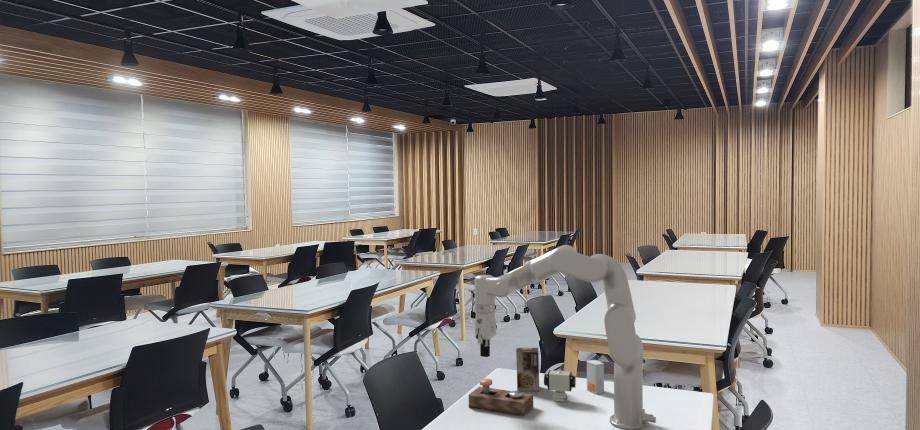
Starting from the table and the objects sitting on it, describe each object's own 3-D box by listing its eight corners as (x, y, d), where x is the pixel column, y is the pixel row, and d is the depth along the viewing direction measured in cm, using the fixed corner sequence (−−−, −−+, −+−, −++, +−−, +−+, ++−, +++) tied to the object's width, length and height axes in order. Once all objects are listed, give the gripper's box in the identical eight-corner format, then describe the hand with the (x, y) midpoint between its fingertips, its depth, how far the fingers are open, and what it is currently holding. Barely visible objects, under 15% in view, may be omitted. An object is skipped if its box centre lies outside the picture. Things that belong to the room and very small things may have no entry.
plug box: (533, 407, 225) (533, 394, 225) (524, 416, 216) (523, 403, 216) (479, 399, 235) (479, 386, 235) (468, 407, 226) (468, 394, 226)
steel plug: (524, 405, 224) (524, 391, 224) (519, 410, 220) (519, 395, 220) (512, 403, 226) (512, 390, 226) (507, 408, 222) (507, 394, 222)
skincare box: (586, 390, 243) (586, 360, 242) (595, 388, 245) (594, 359, 244) (595, 394, 237) (595, 364, 237) (604, 392, 239) (604, 363, 239)
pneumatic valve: (575, 404, 228) (574, 372, 227) (544, 401, 231) (543, 370, 231) (576, 399, 233) (576, 368, 233) (546, 396, 236) (545, 366, 236)
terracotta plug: (494, 393, 229) (494, 379, 229) (489, 397, 225) (489, 383, 225) (483, 391, 231) (482, 377, 231) (477, 395, 227) (477, 381, 227)
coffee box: (539, 386, 249) (538, 347, 248) (539, 391, 243) (538, 351, 242) (516, 385, 250) (516, 347, 249) (516, 391, 244) (516, 351, 243)
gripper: (485, 312, 218) (486, 362, 219) (501, 305, 232) (501, 352, 233) (467, 311, 222) (467, 360, 223) (483, 303, 235) (484, 350, 236)
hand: (485, 356), depth 228 cm, fingers closed
